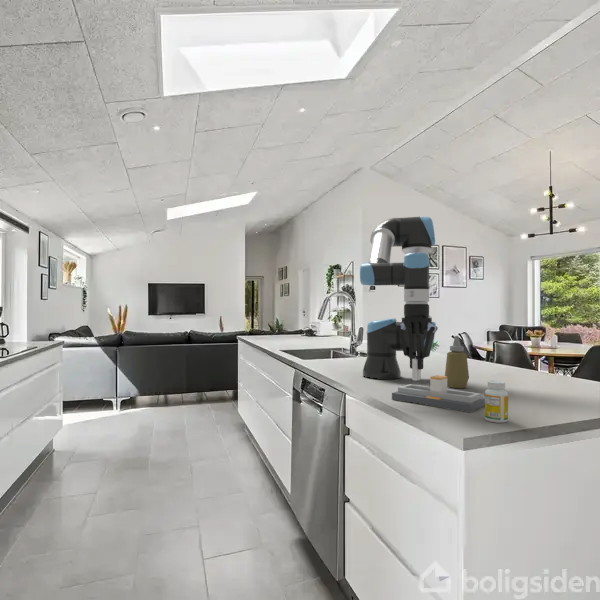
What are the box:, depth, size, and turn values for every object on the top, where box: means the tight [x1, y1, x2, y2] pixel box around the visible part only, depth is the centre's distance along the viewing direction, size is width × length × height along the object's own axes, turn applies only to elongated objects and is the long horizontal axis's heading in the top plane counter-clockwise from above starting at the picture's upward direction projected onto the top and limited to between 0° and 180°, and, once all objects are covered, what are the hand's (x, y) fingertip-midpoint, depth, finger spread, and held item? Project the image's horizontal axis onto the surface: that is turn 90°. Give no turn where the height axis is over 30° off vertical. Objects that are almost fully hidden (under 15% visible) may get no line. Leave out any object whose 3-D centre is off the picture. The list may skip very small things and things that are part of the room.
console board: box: [391, 383, 485, 413], centre depth 131 cm, size 24×12×4 cm, turn 48°
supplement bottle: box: [484, 380, 509, 424], centre depth 110 cm, size 5×5×10 cm
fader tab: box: [429, 374, 448, 393], centre depth 131 cm, size 3×4×5 cm
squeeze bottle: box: [444, 335, 470, 389], centre depth 156 cm, size 8×8×18 cm
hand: (416, 379), depth 136 cm, fingers closed
